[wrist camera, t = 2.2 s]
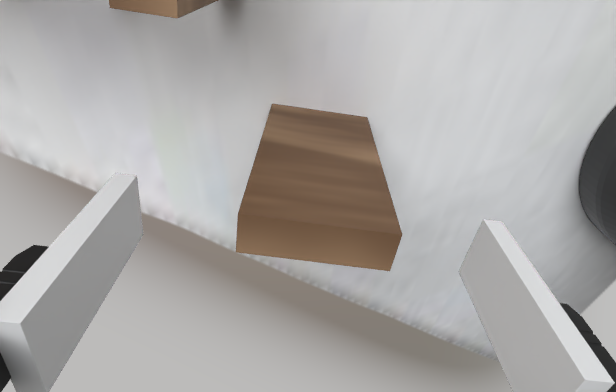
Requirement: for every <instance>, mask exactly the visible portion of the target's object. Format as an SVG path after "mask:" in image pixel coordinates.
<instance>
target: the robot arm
mask: <svg viewBox="0 0 616 392" xmlns="http://www.w3.org/2000/svg"><path fill="white" fill-rule="evenodd" d="M579 189H580V198H581V202H582V205H583V208H584V210H585V212H586V214H587V216H588V217H589V219H590V220H591V221H592V223H593V224H594V225H595V226H596V227H597V228H598V229H599V230H600V231H602V232H603V233H604V234H605V235H606V236H607V237H608V238H609V239H610V240H611V241H612V242H613V243H614V244H615V245H616V107H615V108H614V110H613V111H612V112H611V113H610V114H609V116H608V117H607V118H606V120H605V121H604V122H603V124H602V125H601V127H600V128H599V130H598V131H597V133H596V135H595V136H594V138H593V140H592V142H591V144H590V146H589V148H588V150H587V153H586V155H585V158H584V161H583V165H582V169H581V174H580V183H579ZM142 236H143V227H142V218H141V209H140V200H139V190H138V181H137V175H129V174H121V173H115V174H114V175H113V176H112V177H111V178H110V179H109V180H108V182H107V183H106V184H105V185H104V186H103V187H102V188H101V189H100V191H99V192H98V193H97V194H96V195H95V196H94V197H93V198H92V200H91V201H90V202H89V203H88V204H87V205H86V206H85V207H84V208H83V210H82V211H81V212H80V213H79V214H78V215H77V216H76V217H75V218H74V220H73V221H72V222H71V223H70V224H69V225H68V227H66V229H65V230H64V231H63V232H62V233H61V234H60V235H59V236H58V238H57V239H56V240H55V241H54V242H53V243H52V244H51V245H50V246H49V247H47V246H37V245H33V246H31V247H30V248H28V249H26V250H25V251H23V252H21V253H20V254H18V255H16V256H15V257H14V258H13V259H12V260H11V261H10V262H9V263H8V264H7V265H6V266H5V267H4V268H3V271H2V272H0V392H1V391H2V390H3V388H4V387H5V386H6V384H7V383H8V381H9V380H10V379H11V381H12V383H13V385H14V388H15V390H16V392H49V391H50V389H51V388H52V386H53V384H54V383H55V381H56V379H57V378H58V376H59V374H60V372H61V371H62V369H63V368H64V366H65V364H66V363H67V361H68V359H69V358H70V356H71V354H72V353H73V351H74V349H75V348H76V346H77V344H78V343H79V341H80V339H81V338H82V336H83V334H84V333H85V331H86V329H87V328H88V326H89V324H90V323H91V321H92V319H93V318H94V316H95V314H96V313H97V311H98V309H99V307H100V306H101V304H102V303H103V301H104V299H105V298H106V295H107V294H108V293H109V291H110V289H111V288H112V286H113V284H114V283H115V281H116V279H117V277H118V276H119V274H120V273H121V271H122V269H123V268H124V266H125V264H126V263H127V261H128V259H129V258H130V256H131V254H132V253H133V251H134V250H135V248H136V246H137V244H138V243H139V241H140V240H141V237H142ZM459 274H460V276H461V278H462V280H463V282H464V285H465V287H466V289H467V291H468V293H469V296H470V298H471V300H472V302H473V305H474V307H475V309H476V311H477V313H478V316H479V318H480V320H481V322H482V324H483V327H484V329H485V331H486V333H487V336H488V338H489V340H490V342H491V344H492V347H493V349H494V351H495V353H496V355H497V358H498V360H499V362H500V364H501V366H502V369H503V371H504V373H505V375H506V378H507V380H508V382H509V384H510V386H511V389H512V391H513V392H616V363H615V361H614V360H613V359H612V357H611V356H610V354H609V353H608V352H607V350H606V349H605V348H604V347H602V346H601V342H600V341H599V339H598V338H597V337H596V335H593V331H592V330H591V328H590V327H589V326H588V324H587V323H586V322H585V320H584V319H583V318H582V317H581V316H580V315H579V314H578V313H577V312H576V311H574V310H573V309H572V308H571V307H570V306H569V305H568V304H561V303H559V302H558V301H557V299H556V298H555V296H554V295H553V294H552V292H551V291H550V289H549V288H548V286H547V285H546V283H545V282H544V281H543V279H542V278H541V276H540V275H539V273H538V272H537V271H536V269H535V268H534V266H533V265H532V263H531V262H530V261H529V259H528V258H527V256H526V255H525V253H524V252H523V251H522V249H521V248H520V246H519V245H518V243H517V242H516V240H515V239H514V238H513V236H512V235H511V233H510V232H509V230H508V229H507V228H506V226H505V225H504V223H503V222H502V221H494V220H486V219H483V221H482V223H481V225H480V227H479V229H478V231H477V233H476V236H475V238H474V240H473V242H472V244H471V246H470V248H469V250H468V252H467V255H466V257H465V259H464V261H463V263H462V265H461V267H460V269H459Z"/></svg>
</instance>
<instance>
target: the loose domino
mask: <svg viewBox="0 0 616 392" xmlns="http://www.w3.org/2000/svg"><path fill="white" fill-rule="evenodd" d="M401 237H402V232H401V229H400V226H399V222H398V219H397V216H396V212H395V209H394V206H393V202H392V199H391V196H390V192H389V189H388V185H387V182H386V179H385V175H384V172H383V169H382V165H381V162H380V159H379V155H378V152H377V149H376V145H375V142H374V139H373V135H372V132H371V128H370V125H369V122H368V118H367V117H361V116H354V115H347V114H340V113H333V112H326V111H319V110H312V109H305V108H299V107H292V106H285V105H278V104H272V106H271V109H270V112H269V115H268V119H267V122H266V125H265V128H264V132H263V135H262V138H261V141H260V144H259V148H258V151H257V154H256V157H255V161H254V164H253V167H252V170H251V173H250V177H249V180H248V183H247V186H246V190H245V193H244V196H243V199H242V203H241V206H240V209H239V212H238V223H237V241H236V252H239V253H247V254H255V255H263V256H271V257H279V258H287V259H295V260H304V261H312V262H320V263H328V264H336V265H344V266H352V267H361V268H369V269H377V270H385V271H390V269H391V266H392V263H393V260H394V257H395V255H396V252H397V249H398V246H399V243H400V240H401Z"/></svg>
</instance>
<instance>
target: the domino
mask: <svg viewBox="0 0 616 392" xmlns="http://www.w3.org/2000/svg"><path fill="white" fill-rule="evenodd" d="M216 1H218V0H109V5H110V8H114V9H121V10H127V11H133V12H140V13H146V14H153V15H159V16H166V17H172V18H179V17H182V16H184V15H186V14H188V13H191V12H193V11H195V10H197V9H200V8H202V7H204V6H207V5H209V4H211V3H213V2H216Z"/></svg>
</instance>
